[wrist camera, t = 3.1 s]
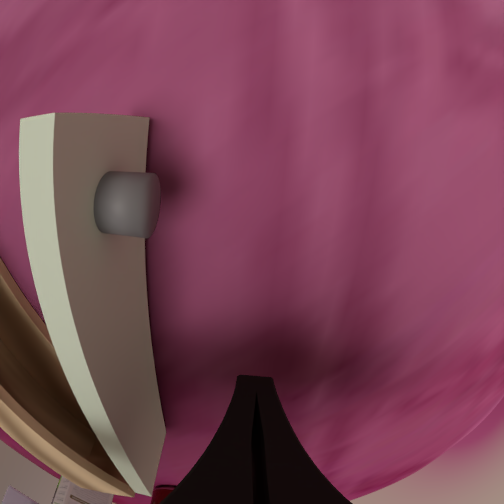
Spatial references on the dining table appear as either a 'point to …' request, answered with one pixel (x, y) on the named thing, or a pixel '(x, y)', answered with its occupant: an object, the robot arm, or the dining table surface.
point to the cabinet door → (97, 272)
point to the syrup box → (78, 494)
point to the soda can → (161, 493)
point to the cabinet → (46, 399)
